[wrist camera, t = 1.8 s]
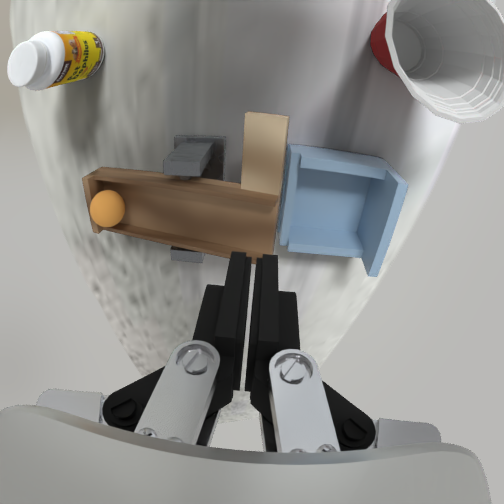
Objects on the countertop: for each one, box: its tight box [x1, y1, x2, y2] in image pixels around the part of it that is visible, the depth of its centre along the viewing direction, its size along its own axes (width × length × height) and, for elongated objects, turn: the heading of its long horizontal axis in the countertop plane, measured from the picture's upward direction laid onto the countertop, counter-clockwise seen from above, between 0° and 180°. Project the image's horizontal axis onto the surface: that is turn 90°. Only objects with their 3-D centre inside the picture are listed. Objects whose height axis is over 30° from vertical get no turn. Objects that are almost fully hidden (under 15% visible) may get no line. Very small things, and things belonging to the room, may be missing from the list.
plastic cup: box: [370, 0, 504, 124], centre depth 16 cm, size 11×11×12 cm
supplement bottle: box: [7, 31, 104, 91], centre depth 18 cm, size 6×6×10 cm
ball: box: [90, 190, 125, 227], centre depth 26 cm, size 4×4×4 cm
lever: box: [82, 111, 289, 264], centre depth 24 cm, size 13×18×3 cm
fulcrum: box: [163, 135, 226, 263], centre depth 28 cm, size 10×5×7 cm, turn 176°
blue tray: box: [277, 144, 408, 277], centre depth 28 cm, size 10×10×7 cm
